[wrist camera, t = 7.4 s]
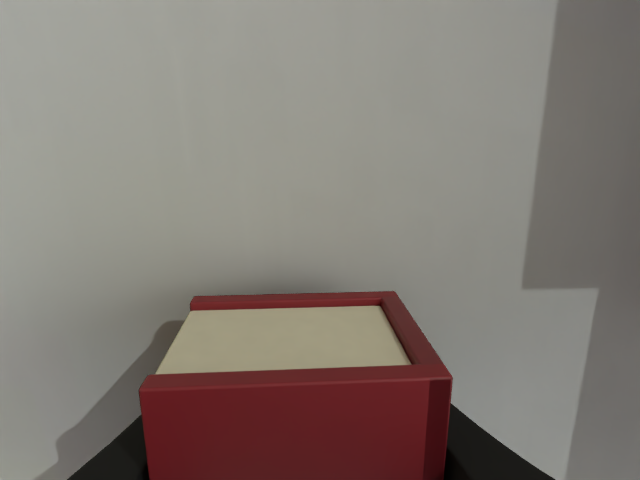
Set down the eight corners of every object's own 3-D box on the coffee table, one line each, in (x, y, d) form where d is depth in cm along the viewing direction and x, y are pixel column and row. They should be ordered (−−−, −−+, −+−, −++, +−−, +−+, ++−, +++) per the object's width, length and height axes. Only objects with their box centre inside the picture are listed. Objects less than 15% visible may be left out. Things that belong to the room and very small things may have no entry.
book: (384, 508, 11) (426, 675, 7) (211, 519, 10) (174, 698, 7) (395, 290, 9) (454, 377, 6) (193, 295, 9) (136, 389, 6)
